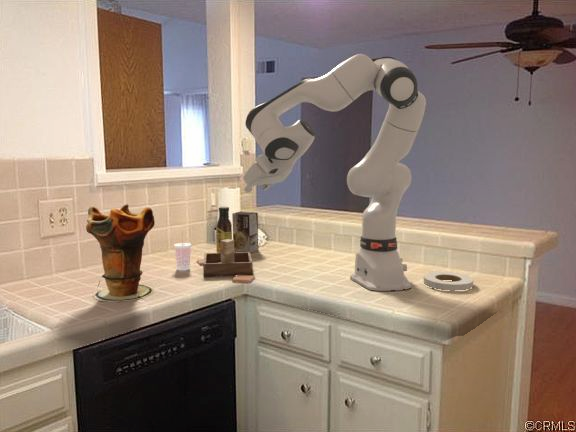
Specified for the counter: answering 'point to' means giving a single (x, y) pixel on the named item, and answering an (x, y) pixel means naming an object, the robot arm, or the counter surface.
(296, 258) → the counter surface
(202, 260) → the tile
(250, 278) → the tile
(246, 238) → the coffee box
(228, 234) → the sauce bottle
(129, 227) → the decorative vase
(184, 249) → the beverage cup
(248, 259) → the box
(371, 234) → the robot arm
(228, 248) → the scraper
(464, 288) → the roll of tape
